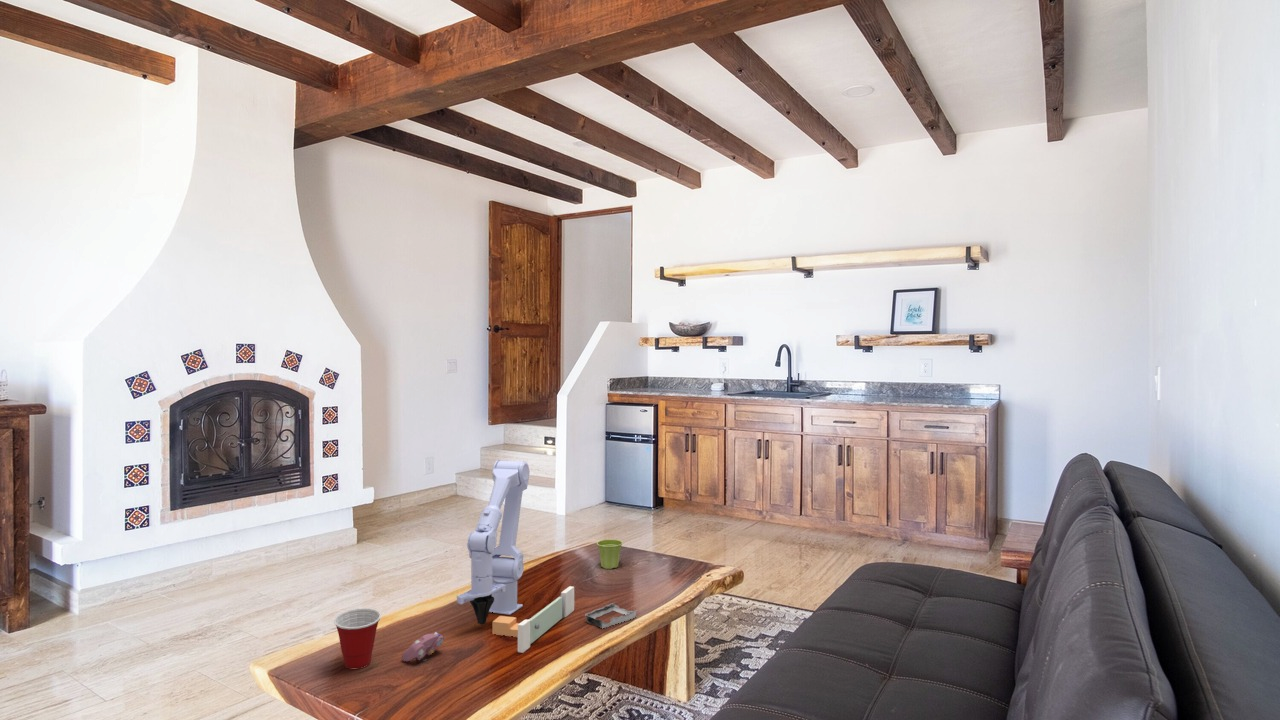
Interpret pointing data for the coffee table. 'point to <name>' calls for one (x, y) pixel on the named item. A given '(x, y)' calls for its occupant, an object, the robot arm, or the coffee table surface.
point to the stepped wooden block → (505, 626)
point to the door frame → (525, 625)
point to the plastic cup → (357, 635)
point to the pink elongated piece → (423, 646)
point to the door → (546, 618)
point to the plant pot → (609, 553)
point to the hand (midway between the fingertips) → (481, 623)
